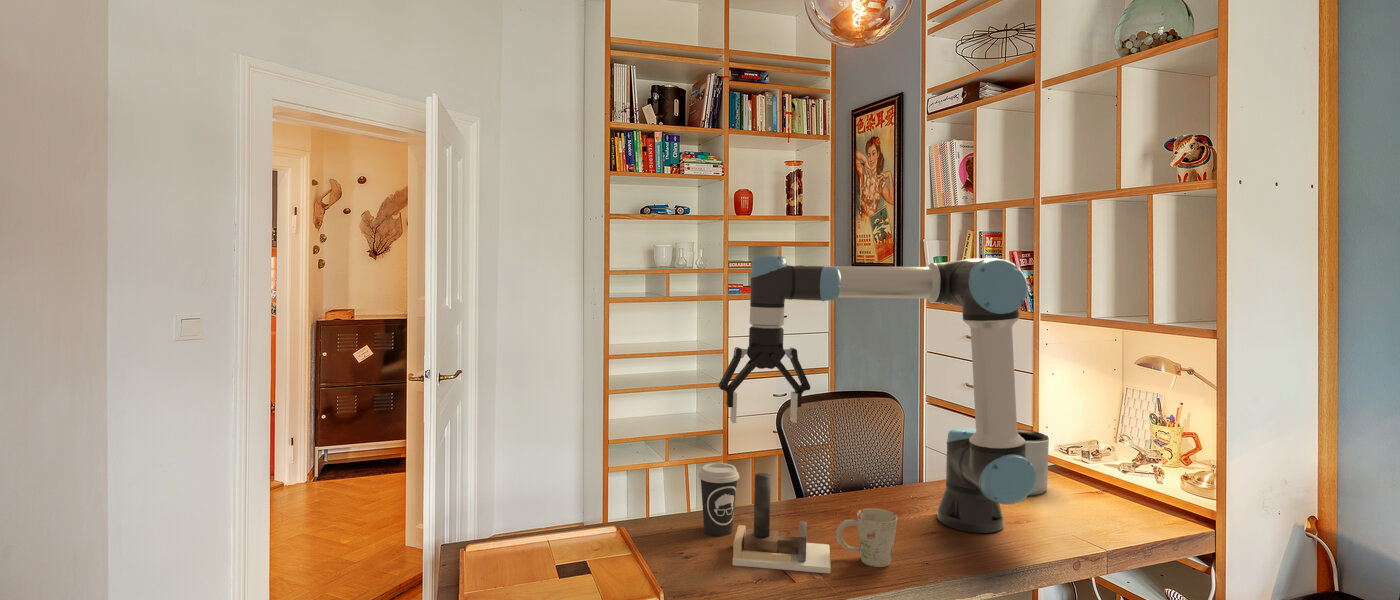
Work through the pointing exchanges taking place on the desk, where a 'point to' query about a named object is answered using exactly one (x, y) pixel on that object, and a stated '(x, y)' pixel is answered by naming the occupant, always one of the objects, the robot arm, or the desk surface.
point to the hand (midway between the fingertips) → (763, 421)
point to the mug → (872, 535)
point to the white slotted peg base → (781, 557)
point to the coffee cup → (718, 497)
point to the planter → (1037, 457)
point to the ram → (761, 534)
